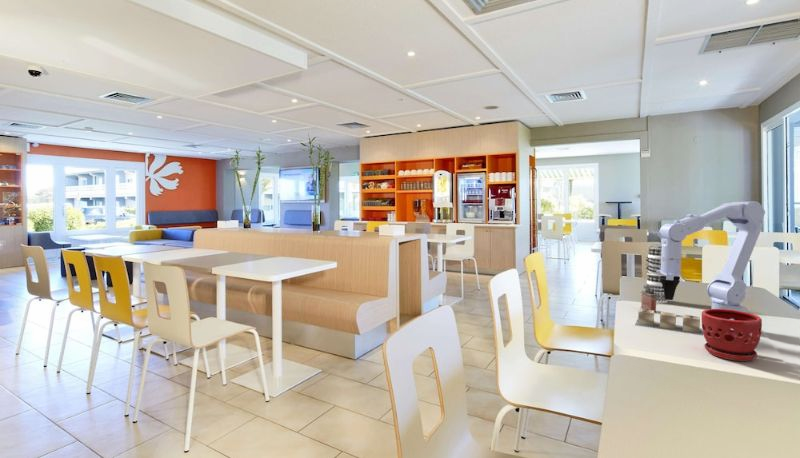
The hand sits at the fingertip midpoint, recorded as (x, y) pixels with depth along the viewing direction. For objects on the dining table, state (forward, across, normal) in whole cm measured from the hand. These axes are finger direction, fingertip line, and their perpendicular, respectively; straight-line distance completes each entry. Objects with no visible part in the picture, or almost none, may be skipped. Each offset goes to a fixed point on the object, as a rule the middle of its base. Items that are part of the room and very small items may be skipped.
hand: (669, 298), depth 141 cm
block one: (+10, 0, +6) cm, 12 cm away
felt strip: (+10, 0, 0) cm, 10 cm away
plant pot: (+11, +22, +15) cm, 28 cm away
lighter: (+11, -23, -7) cm, 26 cm away
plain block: (+10, 0, 0) cm, 10 cm away
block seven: (+10, 0, -6) cm, 12 cm away
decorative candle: (+11, -47, -5) cm, 48 cm away
